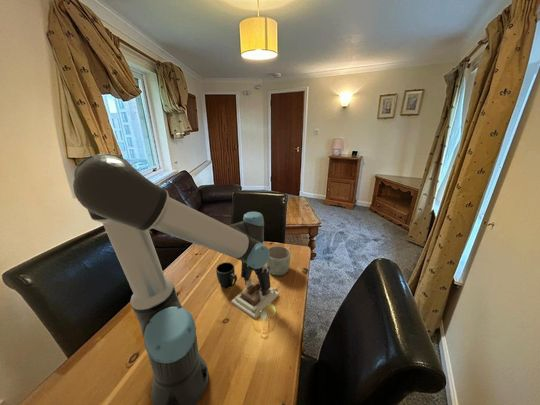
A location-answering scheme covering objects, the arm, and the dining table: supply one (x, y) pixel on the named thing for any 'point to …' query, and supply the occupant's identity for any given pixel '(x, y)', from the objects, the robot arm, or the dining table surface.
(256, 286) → the frame
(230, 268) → the mug
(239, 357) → the dining table surface
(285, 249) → the planter
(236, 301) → the white flat rectangular tray
